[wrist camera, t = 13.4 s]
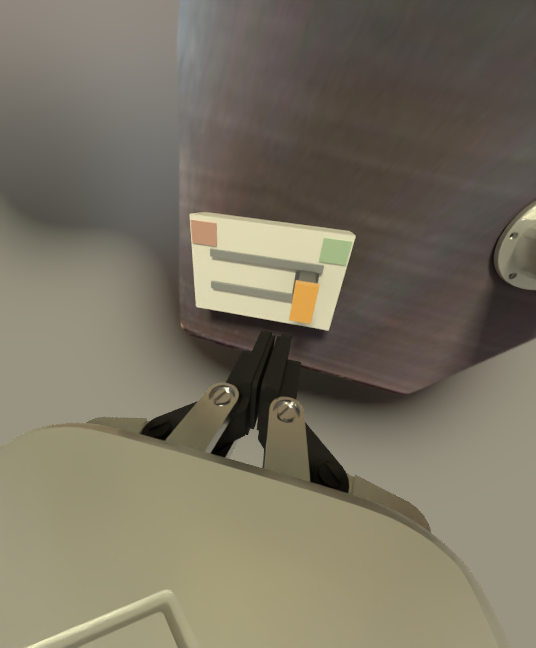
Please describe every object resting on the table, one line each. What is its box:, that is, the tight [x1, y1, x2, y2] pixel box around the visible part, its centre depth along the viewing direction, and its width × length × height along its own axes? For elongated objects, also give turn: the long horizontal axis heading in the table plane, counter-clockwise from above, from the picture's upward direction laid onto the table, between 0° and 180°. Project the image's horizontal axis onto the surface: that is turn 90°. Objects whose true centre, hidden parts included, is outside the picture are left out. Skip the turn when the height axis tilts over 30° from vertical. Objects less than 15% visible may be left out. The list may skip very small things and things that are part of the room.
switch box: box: [190, 212, 356, 331], centre depth 34 cm, size 22×14×6 cm, turn 84°
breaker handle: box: [289, 271, 319, 324], centre depth 28 cm, size 3×5×8 cm
